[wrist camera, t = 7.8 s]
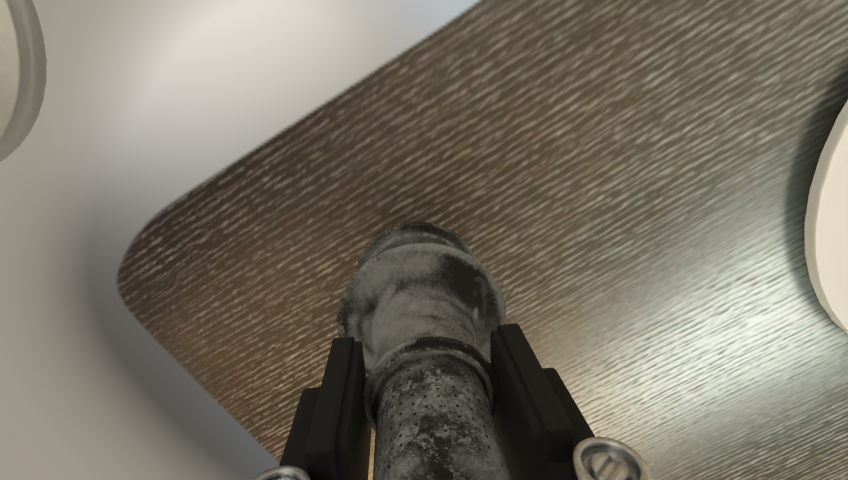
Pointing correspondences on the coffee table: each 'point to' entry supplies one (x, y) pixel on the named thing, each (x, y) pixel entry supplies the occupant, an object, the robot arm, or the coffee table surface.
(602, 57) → the coffee table surface
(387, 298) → the grey chess bishop
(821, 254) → the plate
